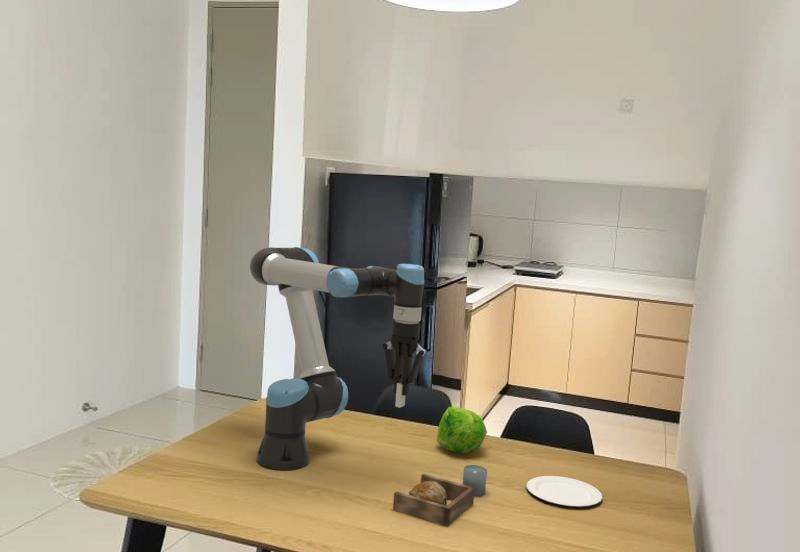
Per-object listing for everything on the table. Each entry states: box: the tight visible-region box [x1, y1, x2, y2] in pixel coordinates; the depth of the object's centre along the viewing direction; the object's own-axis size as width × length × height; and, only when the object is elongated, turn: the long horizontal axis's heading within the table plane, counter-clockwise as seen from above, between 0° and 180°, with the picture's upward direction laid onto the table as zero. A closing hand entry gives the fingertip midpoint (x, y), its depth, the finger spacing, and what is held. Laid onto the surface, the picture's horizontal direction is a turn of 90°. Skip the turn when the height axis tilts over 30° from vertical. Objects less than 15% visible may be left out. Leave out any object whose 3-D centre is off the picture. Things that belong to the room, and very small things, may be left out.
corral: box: [392, 473, 475, 527], centre depth 185 cm, size 15×16×4 cm
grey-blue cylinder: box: [462, 464, 488, 498], centre depth 197 cm, size 6×6×6 cm
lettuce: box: [436, 406, 488, 455], centre depth 230 cm, size 15×20×14 cm
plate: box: [526, 475, 603, 508], centre depth 200 cm, size 21×21×2 cm
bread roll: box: [408, 481, 448, 506], centre depth 186 cm, size 10×10×8 cm
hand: (399, 405), depth 196 cm, fingers closed
